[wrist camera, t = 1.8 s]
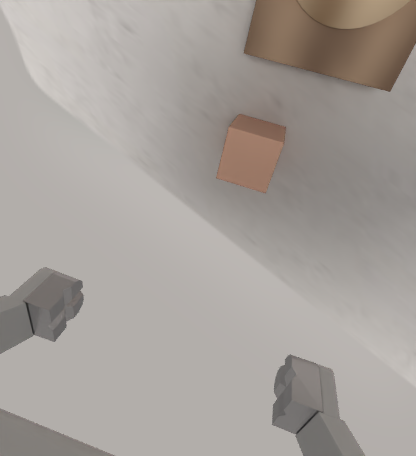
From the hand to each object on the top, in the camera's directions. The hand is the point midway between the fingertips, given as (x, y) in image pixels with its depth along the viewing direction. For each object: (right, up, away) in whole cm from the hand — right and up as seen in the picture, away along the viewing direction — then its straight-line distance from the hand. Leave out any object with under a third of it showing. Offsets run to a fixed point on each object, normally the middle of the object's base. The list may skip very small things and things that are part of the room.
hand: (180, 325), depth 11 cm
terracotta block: (+6, +13, +20) cm, 25 cm away
